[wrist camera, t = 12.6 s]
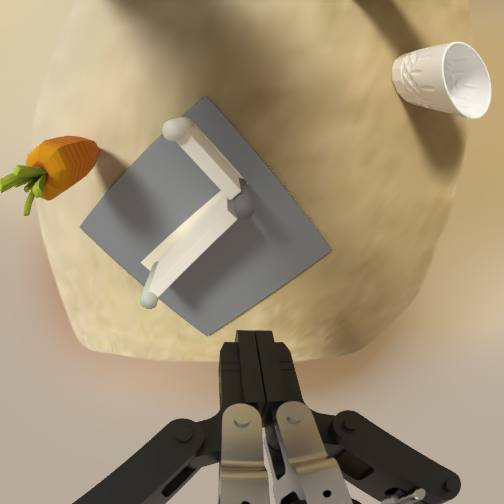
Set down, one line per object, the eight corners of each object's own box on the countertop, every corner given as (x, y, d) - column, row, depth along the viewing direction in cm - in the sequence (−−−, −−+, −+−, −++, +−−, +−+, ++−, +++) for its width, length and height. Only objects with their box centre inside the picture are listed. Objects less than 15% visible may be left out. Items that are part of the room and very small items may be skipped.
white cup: (375, 58, 24) (429, 48, 15) (420, 44, 22) (475, 37, 14) (402, 118, 27) (458, 129, 18) (442, 99, 26) (498, 108, 17)
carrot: (124, 146, 26) (48, 183, 13) (98, 179, 28) (22, 237, 15) (94, 118, 24) (5, 138, 11) (70, 152, 26) (-17, 194, 13)
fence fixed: (173, 125, 26) (154, 130, 19) (186, 113, 25) (172, 114, 18) (237, 195, 30) (242, 223, 23) (250, 184, 29) (259, 210, 23)
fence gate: (224, 188, 29) (224, 210, 23) (236, 199, 30) (240, 224, 24) (149, 267, 33) (136, 301, 27) (161, 276, 33) (150, 311, 28)
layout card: (81, 225, 30) (78, 227, 29) (206, 95, 25) (205, 95, 24) (207, 333, 40) (207, 336, 39) (330, 247, 35) (332, 250, 34)
